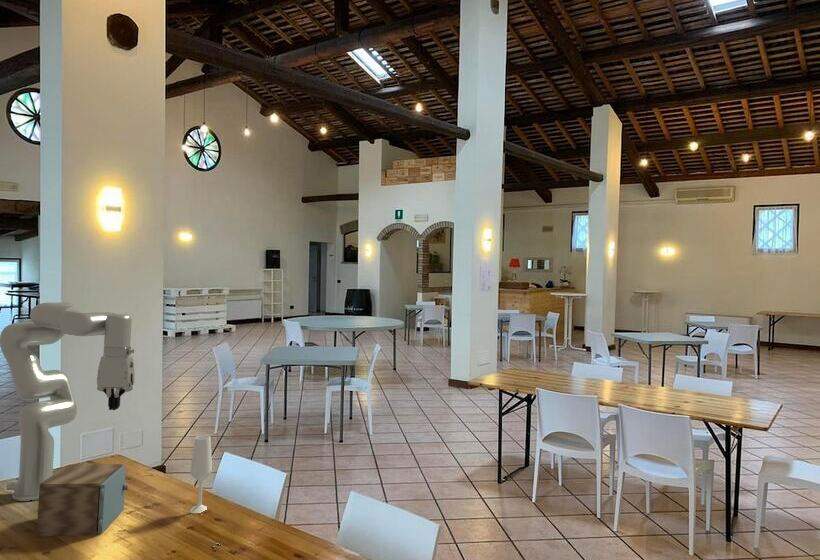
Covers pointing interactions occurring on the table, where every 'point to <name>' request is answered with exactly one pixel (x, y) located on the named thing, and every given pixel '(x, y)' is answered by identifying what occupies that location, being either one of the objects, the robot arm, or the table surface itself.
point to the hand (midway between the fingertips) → (113, 409)
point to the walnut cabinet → (72, 500)
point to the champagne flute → (201, 466)
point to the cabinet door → (111, 498)
